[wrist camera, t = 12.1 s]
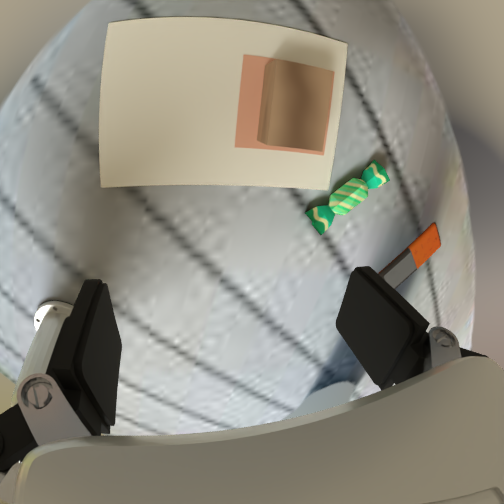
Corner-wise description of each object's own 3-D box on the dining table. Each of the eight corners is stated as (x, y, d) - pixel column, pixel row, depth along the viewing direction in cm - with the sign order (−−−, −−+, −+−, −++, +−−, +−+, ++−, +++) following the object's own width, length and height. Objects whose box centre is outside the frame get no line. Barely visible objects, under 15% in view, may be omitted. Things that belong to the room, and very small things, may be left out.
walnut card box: (314, 74, 26) (332, 71, 23) (305, 145, 31) (322, 151, 27) (265, 65, 25) (277, 58, 21) (256, 140, 29) (267, 145, 25)
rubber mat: (327, 189, 34) (328, 190, 34) (101, 187, 28) (100, 188, 28) (346, 44, 25) (348, 43, 25) (109, 23, 19) (108, 22, 18)
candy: (319, 235, 37) (322, 234, 33) (304, 215, 37) (305, 211, 33) (383, 184, 35) (392, 178, 31) (368, 165, 35) (376, 157, 31)
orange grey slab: (442, 246, 44) (388, 296, 47) (438, 243, 45) (385, 292, 48) (436, 223, 41) (378, 276, 44) (432, 220, 42) (374, 272, 45)
